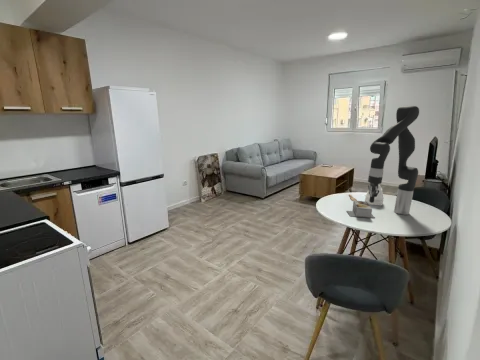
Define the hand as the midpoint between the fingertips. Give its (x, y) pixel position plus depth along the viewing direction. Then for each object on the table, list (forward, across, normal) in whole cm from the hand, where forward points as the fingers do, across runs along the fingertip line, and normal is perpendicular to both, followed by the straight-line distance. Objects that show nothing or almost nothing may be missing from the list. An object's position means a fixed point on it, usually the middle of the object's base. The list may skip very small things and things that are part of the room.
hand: (371, 202), depth 163 cm
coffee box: (+10, -8, -1) cm, 13 cm away
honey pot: (+14, -44, +18) cm, 49 cm away
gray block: (+14, -14, -1) cm, 20 cm away
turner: (+14, -52, +4) cm, 54 cm away
